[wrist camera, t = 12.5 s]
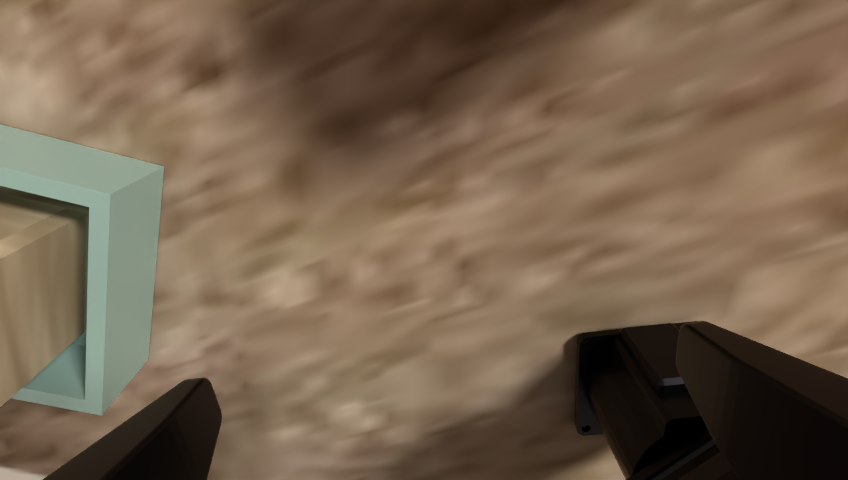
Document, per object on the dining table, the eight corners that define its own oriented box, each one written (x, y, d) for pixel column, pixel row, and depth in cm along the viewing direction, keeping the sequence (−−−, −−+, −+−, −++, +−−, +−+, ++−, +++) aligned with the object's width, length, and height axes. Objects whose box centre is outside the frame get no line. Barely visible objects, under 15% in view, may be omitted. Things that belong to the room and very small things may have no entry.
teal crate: (164, 166, 21) (110, 194, 17) (148, 358, 24) (101, 415, 21) (-102, 98, 19) (-224, 111, 16) (-75, 312, 23) (-168, 364, 19)
